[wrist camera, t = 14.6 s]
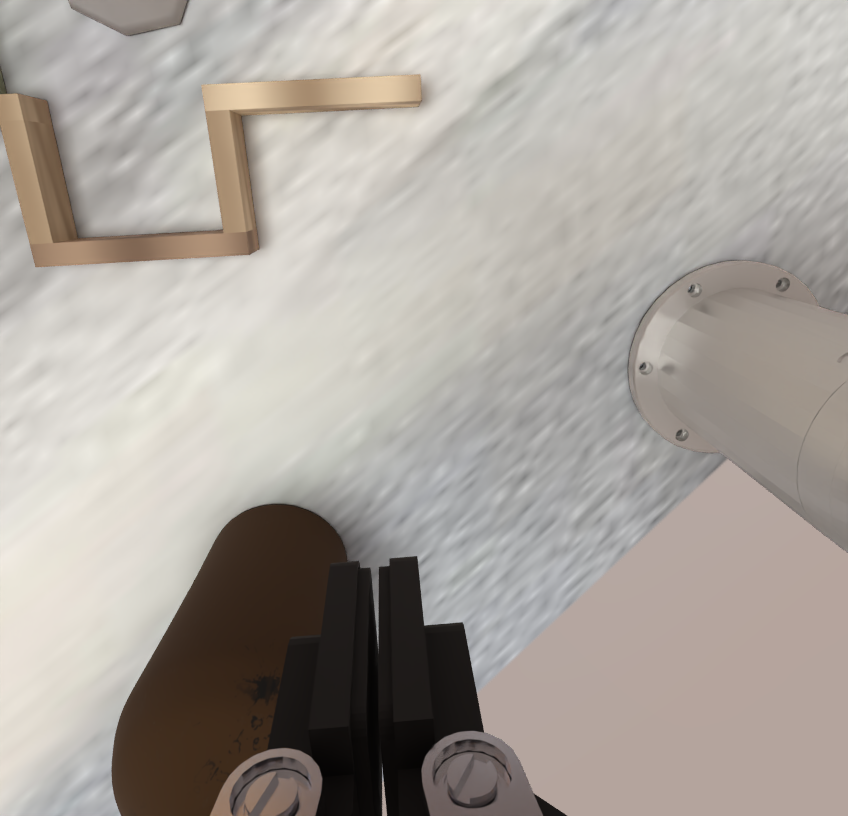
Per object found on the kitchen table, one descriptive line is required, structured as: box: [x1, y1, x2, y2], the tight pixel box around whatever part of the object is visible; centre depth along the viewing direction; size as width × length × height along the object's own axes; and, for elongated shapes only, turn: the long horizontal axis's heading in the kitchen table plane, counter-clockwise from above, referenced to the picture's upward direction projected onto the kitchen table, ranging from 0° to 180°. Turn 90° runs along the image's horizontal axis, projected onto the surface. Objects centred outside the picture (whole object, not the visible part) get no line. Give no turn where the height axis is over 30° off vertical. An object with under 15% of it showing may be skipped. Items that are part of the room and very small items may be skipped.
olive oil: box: [112, 505, 347, 816], centre depth 33 cm, size 11×11×25 cm
